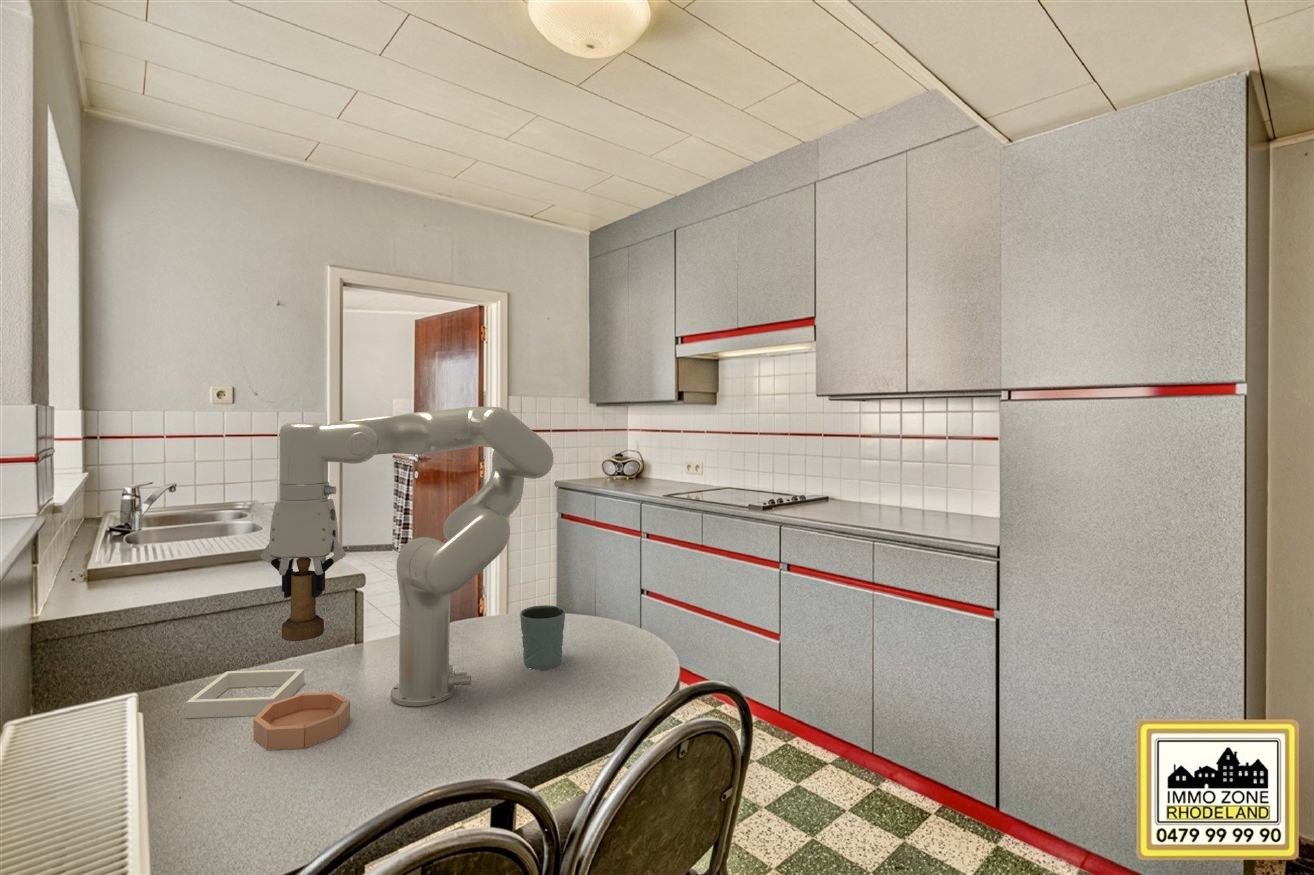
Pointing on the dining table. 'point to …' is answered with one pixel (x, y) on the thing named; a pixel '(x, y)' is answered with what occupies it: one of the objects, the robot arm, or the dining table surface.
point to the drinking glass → (542, 636)
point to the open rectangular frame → (209, 706)
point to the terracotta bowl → (301, 720)
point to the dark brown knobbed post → (302, 606)
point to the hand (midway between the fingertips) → (303, 594)
